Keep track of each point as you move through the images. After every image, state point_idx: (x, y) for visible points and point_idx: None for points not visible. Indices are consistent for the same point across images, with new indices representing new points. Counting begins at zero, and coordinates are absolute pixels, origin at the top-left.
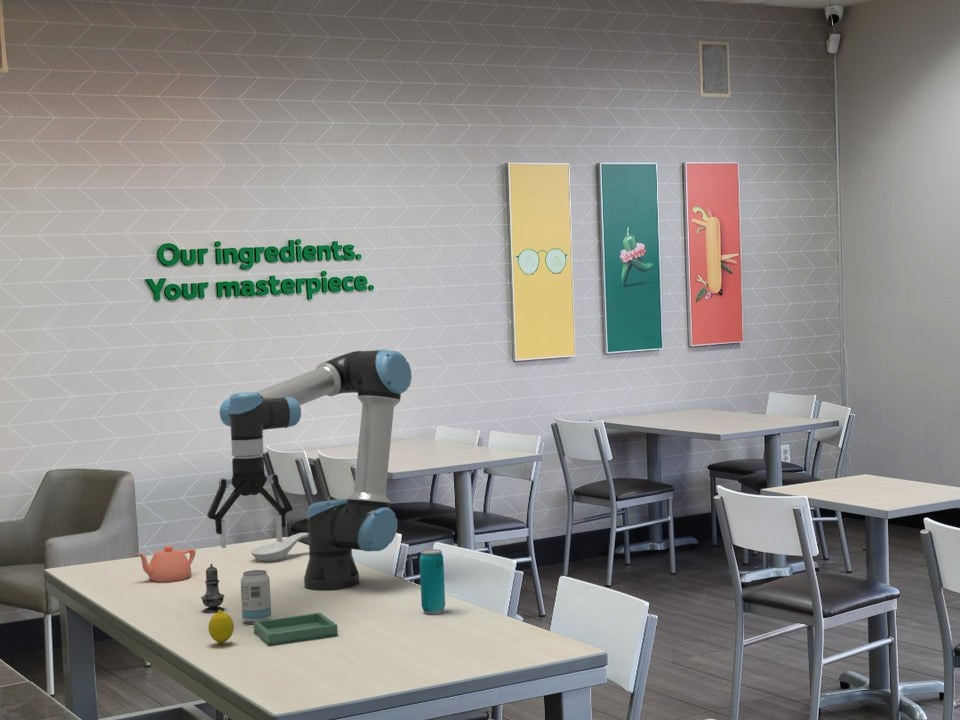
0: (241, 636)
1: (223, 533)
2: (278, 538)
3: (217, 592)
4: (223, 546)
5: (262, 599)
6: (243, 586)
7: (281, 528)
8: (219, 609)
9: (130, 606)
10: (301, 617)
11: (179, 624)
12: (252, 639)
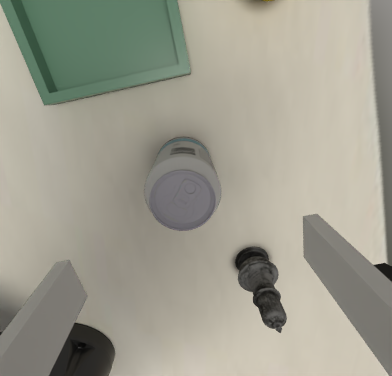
0: (216, 46)
1: (357, 258)
2: (67, 280)
3: (252, 277)
4: (318, 217)
5: (168, 149)
6: (213, 168)
7: (17, 314)
8: (243, 254)
9: None
10: (85, 85)
11: (315, 190)
12: (194, 5)
